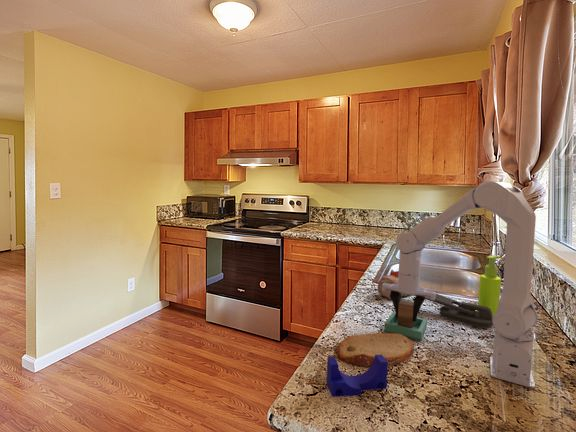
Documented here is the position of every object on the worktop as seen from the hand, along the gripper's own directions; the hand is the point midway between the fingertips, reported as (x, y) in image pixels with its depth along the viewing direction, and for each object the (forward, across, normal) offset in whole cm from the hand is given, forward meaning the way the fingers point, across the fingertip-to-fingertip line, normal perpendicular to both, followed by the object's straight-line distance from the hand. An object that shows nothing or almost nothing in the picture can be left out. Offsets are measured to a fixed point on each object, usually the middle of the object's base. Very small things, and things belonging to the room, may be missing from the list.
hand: (406, 318), depth 94 cm
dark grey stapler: (+4, -10, -20) cm, 22 cm away
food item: (+4, +10, -29) cm, 31 cm away
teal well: (+3, 0, 0) cm, 3 cm away
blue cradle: (+4, +3, +34) cm, 35 cm away
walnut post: (+2, 0, 0) cm, 2 cm away
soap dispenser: (+4, -21, -27) cm, 34 cm away
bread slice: (+4, +4, +17) cm, 18 cm away
